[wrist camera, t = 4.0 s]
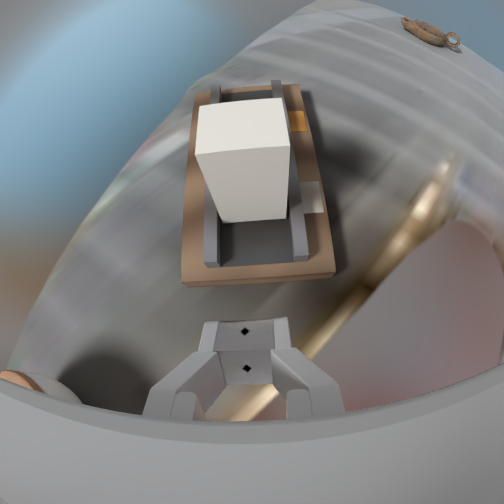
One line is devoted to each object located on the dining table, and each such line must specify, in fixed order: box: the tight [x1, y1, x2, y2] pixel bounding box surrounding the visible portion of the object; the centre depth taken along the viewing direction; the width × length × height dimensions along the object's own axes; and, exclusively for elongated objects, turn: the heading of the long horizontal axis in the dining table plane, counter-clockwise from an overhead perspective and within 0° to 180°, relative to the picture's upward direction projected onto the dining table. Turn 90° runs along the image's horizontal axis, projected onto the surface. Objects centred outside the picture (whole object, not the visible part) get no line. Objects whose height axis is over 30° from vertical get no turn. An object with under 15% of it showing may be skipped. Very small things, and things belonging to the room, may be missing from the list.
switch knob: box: [195, 98, 290, 223], centre depth 19 cm, size 4×5×9 cm
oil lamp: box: [401, 17, 460, 47], centre depth 34 cm, size 13×8×5 cm, turn 58°
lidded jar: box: [0, 370, 83, 404], centre depth 16 cm, size 11×11×9 cm
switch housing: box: [181, 80, 336, 287], centre depth 25 cm, size 22×12×4 cm, turn 3°
